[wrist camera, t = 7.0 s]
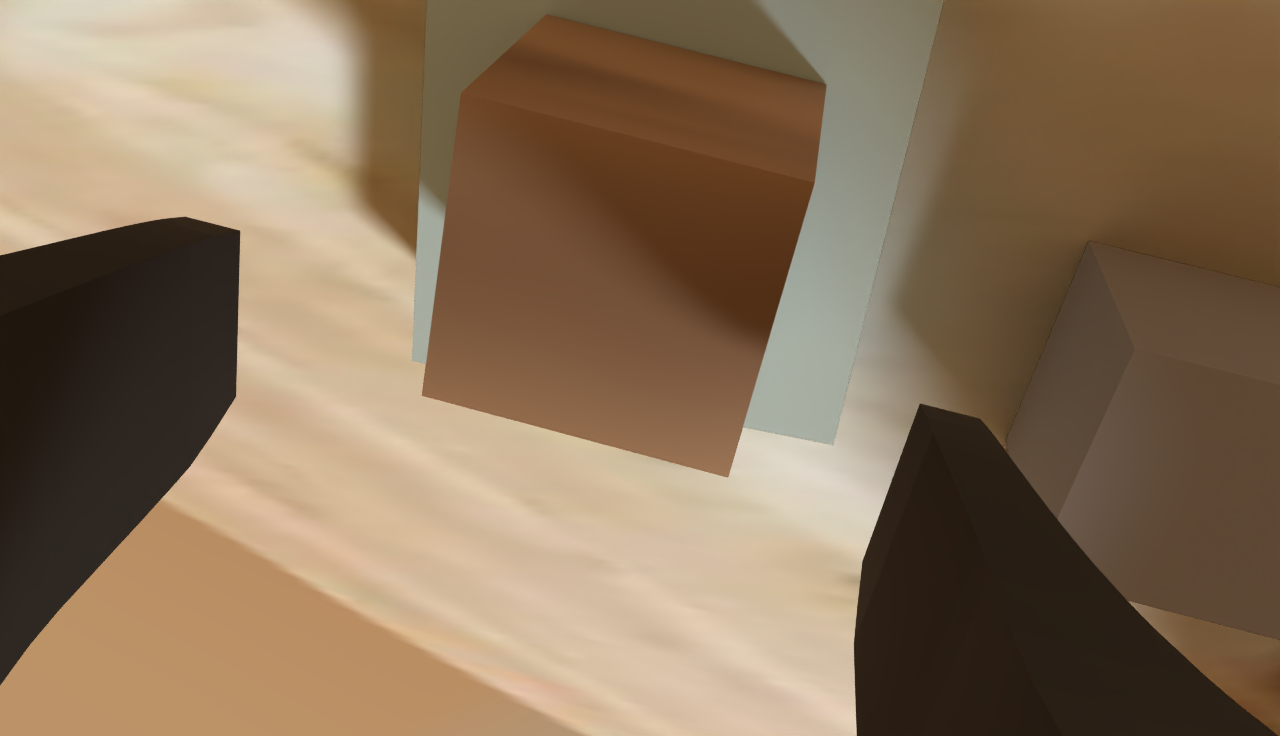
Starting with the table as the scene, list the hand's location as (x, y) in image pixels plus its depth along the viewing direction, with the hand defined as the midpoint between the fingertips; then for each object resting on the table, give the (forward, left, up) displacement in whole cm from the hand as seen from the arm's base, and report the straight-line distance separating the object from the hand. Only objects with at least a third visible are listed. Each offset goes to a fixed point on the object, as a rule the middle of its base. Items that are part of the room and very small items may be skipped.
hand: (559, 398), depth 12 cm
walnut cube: (0, 0, -6) cm, 6 cm away
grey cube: (-2, -9, -9) cm, 13 cm away
